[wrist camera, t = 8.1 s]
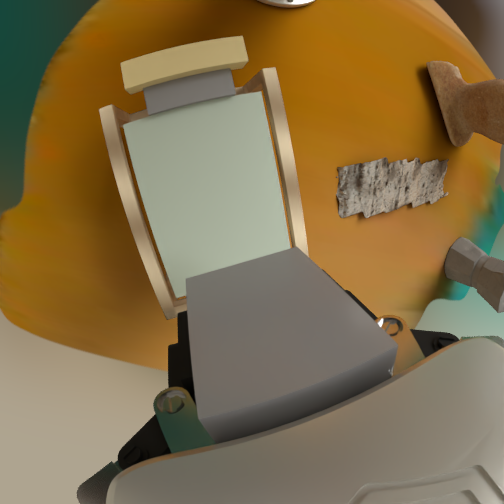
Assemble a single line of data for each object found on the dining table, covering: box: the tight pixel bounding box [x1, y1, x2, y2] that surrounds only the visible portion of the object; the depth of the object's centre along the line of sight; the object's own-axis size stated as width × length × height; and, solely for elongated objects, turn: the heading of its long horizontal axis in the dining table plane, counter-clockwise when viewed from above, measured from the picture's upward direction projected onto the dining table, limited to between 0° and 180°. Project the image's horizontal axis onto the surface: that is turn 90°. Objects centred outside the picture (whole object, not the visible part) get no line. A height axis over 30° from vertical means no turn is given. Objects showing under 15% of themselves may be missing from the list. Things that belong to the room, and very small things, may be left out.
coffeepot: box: [445, 237, 504, 313], centre depth 37 cm, size 15×9×18 cm, turn 55°
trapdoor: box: [120, 36, 290, 298], centre depth 18 cm, size 18×10×3 cm, turn 11°
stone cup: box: [426, 61, 504, 146], centre depth 25 cm, size 15×12×15 cm
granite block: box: [186, 247, 398, 444], centre depth 10 cm, size 5×5×7 cm
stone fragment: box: [336, 157, 449, 218], centre depth 35 cm, size 25×3×10 cm
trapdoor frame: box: [99, 67, 309, 320], centre depth 25 cm, size 18×13×10 cm
